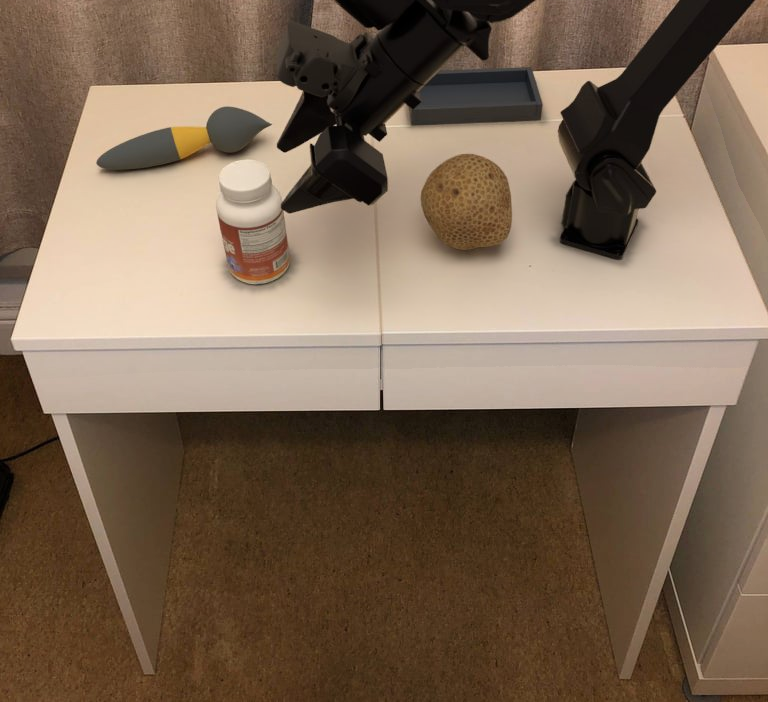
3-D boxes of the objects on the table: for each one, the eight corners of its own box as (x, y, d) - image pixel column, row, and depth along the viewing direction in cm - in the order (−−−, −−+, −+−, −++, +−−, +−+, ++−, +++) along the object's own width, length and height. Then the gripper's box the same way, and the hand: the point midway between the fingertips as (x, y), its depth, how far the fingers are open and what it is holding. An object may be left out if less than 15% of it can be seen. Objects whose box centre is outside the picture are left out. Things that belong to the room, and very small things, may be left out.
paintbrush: (104, 191, 95) (92, 153, 92) (97, 166, 98) (85, 128, 95) (277, 150, 100) (273, 112, 96) (265, 128, 103) (260, 90, 99)
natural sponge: (423, 211, 92) (424, 130, 85) (507, 215, 91) (517, 133, 84) (417, 269, 86) (418, 187, 79) (507, 273, 85) (517, 191, 78)
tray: (529, 82, 109) (531, 66, 107) (540, 120, 103) (542, 104, 101) (406, 87, 108) (406, 71, 107) (411, 125, 103) (411, 109, 101)
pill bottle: (226, 249, 88) (208, 158, 80) (286, 241, 89) (274, 150, 81) (230, 291, 84) (211, 199, 76) (293, 281, 85) (281, 190, 77)
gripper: (320, -55, 74) (210, 73, 81) (339, 57, 61) (207, 196, 68) (412, 26, 80) (302, 138, 87) (446, 143, 67) (314, 262, 75)
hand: (282, 178), depth 79 cm, fingers open, 9 cm apart
